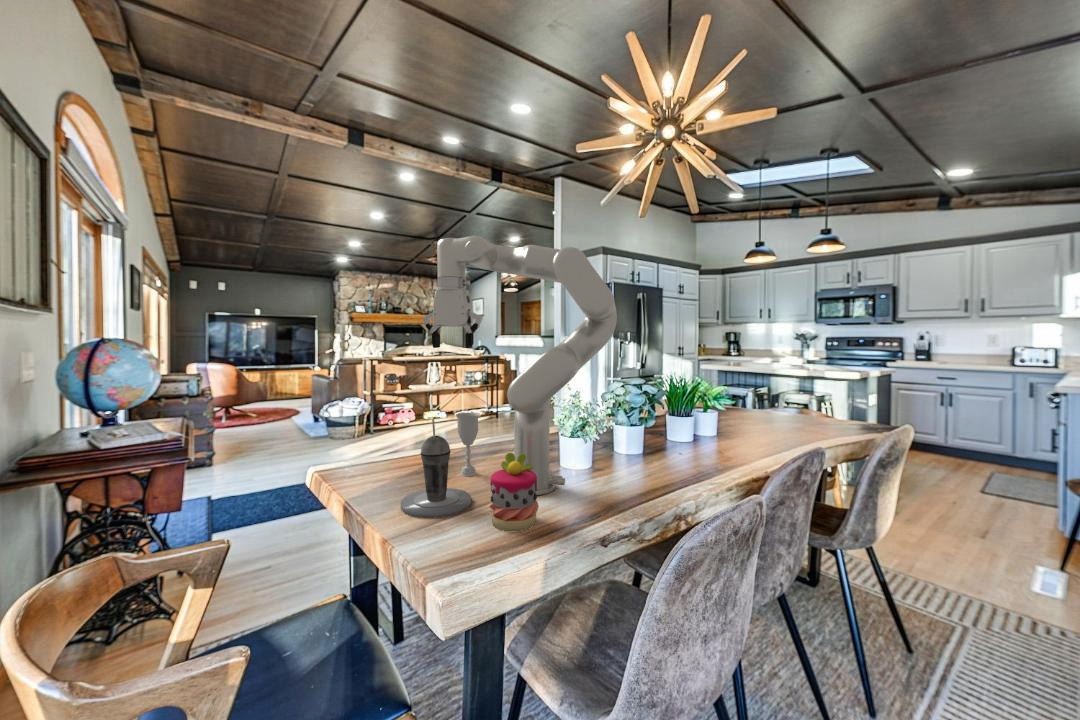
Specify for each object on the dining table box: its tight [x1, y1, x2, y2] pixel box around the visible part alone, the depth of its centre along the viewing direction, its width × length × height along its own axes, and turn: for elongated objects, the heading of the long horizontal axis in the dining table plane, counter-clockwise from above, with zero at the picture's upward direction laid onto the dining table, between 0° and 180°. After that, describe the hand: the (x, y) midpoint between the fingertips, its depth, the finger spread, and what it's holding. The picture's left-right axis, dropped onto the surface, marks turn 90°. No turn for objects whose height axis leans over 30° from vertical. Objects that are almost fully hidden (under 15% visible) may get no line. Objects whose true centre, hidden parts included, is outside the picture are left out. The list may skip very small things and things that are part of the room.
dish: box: [400, 487, 472, 519], centre depth 115 cm, size 17×17×2 cm
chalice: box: [455, 412, 481, 477], centre depth 139 cm, size 7×7×18 cm
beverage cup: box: [420, 418, 451, 502], centre depth 114 cm, size 7×7×20 cm
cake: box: [489, 452, 540, 532], centre depth 103 cm, size 10×10×15 cm
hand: (452, 347), depth 127 cm, fingers open, 9 cm apart
